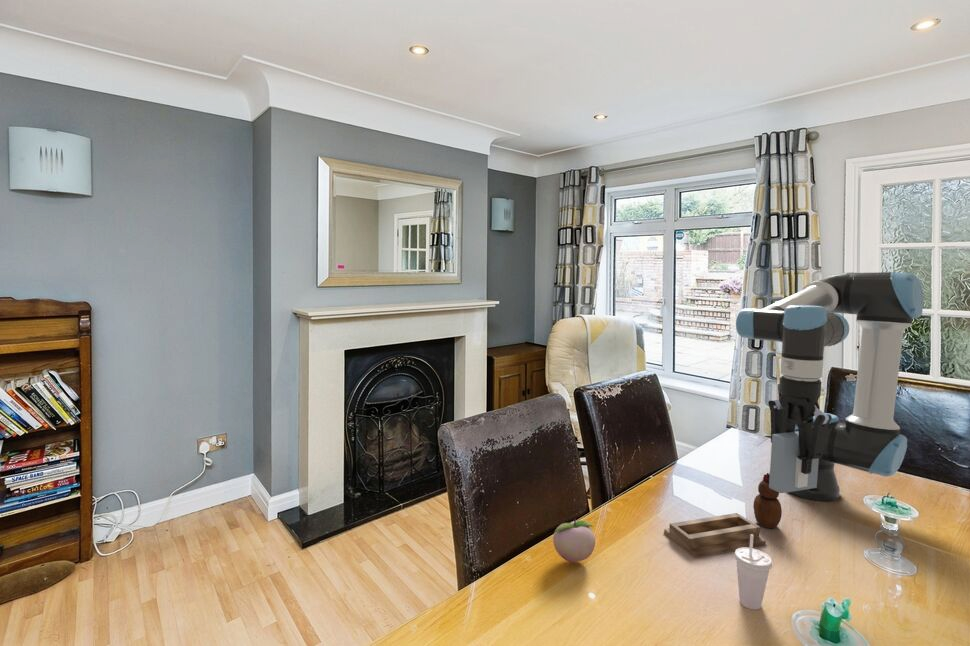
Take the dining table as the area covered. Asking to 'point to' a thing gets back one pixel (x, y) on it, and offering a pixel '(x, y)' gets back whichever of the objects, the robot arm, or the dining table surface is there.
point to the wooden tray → (714, 534)
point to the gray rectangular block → (788, 463)
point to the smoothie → (752, 575)
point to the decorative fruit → (574, 540)
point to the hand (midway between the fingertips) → (793, 482)
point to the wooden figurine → (767, 505)
